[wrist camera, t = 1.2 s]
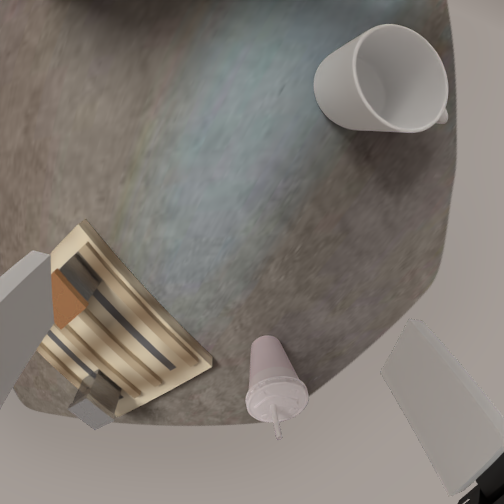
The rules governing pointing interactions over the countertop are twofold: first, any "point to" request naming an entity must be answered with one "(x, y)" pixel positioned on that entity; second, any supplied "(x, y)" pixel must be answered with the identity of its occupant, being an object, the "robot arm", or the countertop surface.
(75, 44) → the countertop surface
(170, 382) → the beige flat board
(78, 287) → the block
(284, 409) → the smoothie
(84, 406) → the fader
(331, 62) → the mug
